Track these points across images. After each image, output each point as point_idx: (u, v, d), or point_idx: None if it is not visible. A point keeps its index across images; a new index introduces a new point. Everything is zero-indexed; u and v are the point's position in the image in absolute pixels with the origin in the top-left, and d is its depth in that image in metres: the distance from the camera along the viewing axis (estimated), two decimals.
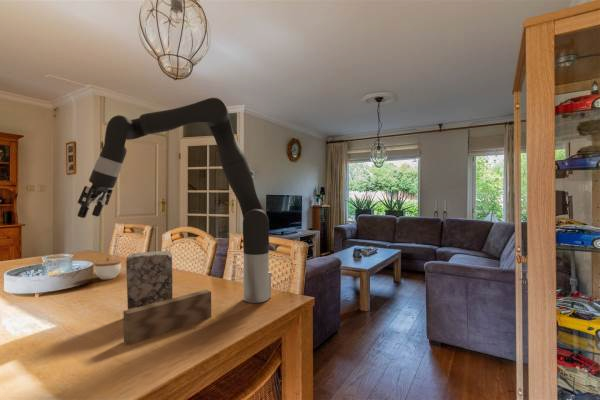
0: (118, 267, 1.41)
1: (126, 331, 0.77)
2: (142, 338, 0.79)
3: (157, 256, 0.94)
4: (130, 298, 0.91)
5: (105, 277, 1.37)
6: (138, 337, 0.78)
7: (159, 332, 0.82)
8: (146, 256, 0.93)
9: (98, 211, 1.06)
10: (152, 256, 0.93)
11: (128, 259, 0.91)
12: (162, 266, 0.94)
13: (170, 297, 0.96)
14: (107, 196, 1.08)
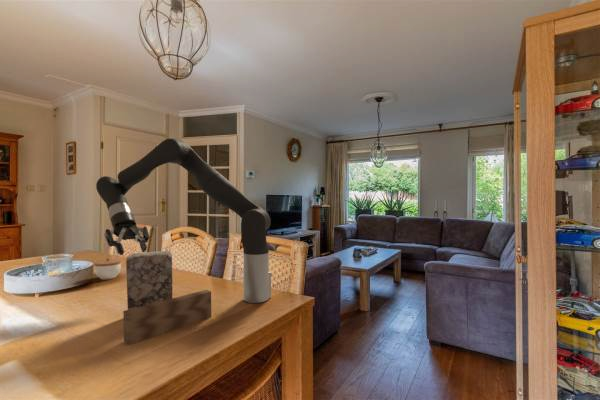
0: (118, 267, 1.41)
1: (126, 331, 0.77)
2: (142, 338, 0.79)
3: (157, 256, 0.94)
4: (130, 298, 0.91)
5: (105, 277, 1.37)
6: (138, 337, 0.78)
7: (159, 332, 0.82)
8: (146, 256, 0.93)
9: (142, 245, 1.08)
10: (152, 256, 0.93)
11: (128, 259, 0.91)
12: (162, 266, 0.94)
13: (170, 297, 0.96)
14: (144, 232, 1.13)
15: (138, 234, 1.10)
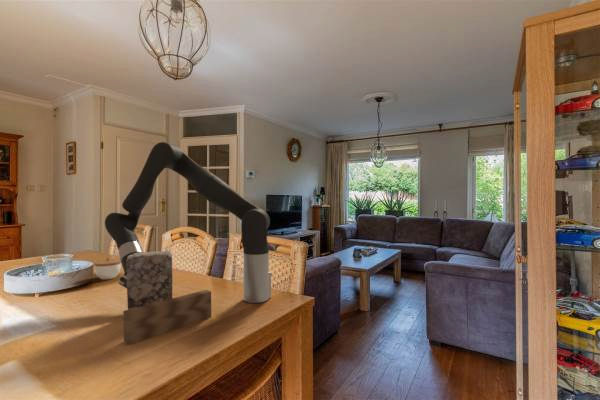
0: (118, 267, 1.41)
1: (126, 331, 0.77)
2: (142, 338, 0.79)
3: (157, 256, 0.94)
4: (130, 298, 0.91)
5: (105, 277, 1.37)
6: (138, 337, 0.78)
7: (159, 332, 0.82)
8: (146, 256, 0.93)
9: None
10: (152, 256, 0.93)
11: (128, 259, 0.91)
12: (162, 266, 0.94)
13: (170, 297, 0.96)
14: None
15: None
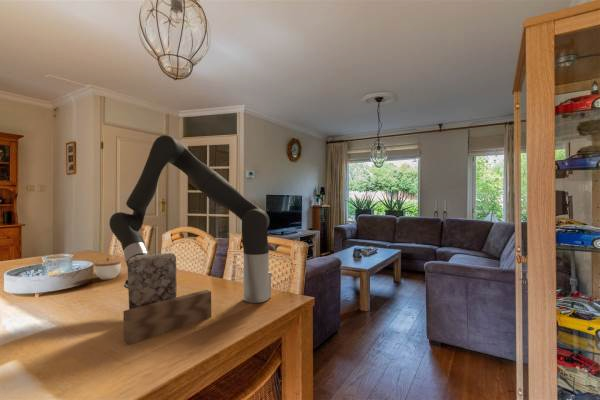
0: (118, 267, 1.41)
1: (126, 331, 0.77)
2: (142, 338, 0.79)
3: (159, 259, 0.89)
4: (131, 303, 0.87)
5: (105, 277, 1.37)
6: (138, 337, 0.78)
7: (159, 332, 0.82)
8: (148, 259, 0.88)
9: None
10: (154, 259, 0.89)
11: (129, 262, 0.86)
12: (165, 269, 0.90)
13: None
14: None
15: None
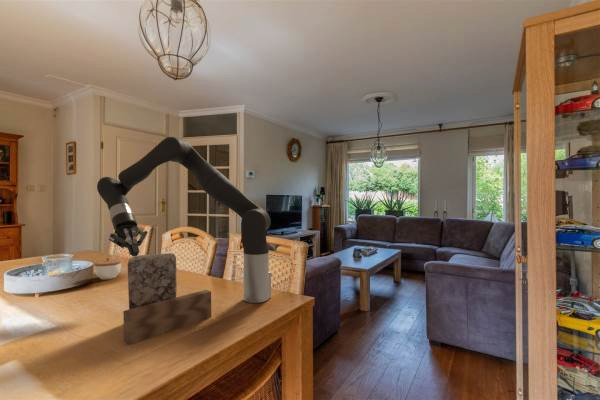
0: (118, 267, 1.41)
1: (126, 331, 0.77)
2: (142, 338, 0.79)
3: (159, 259, 0.89)
4: (131, 303, 0.87)
5: (105, 277, 1.37)
6: (138, 337, 0.78)
7: (159, 332, 0.82)
8: (148, 259, 0.88)
9: None
10: (154, 259, 0.89)
11: (129, 262, 0.87)
12: (165, 269, 0.90)
13: None
14: (141, 236, 1.10)
15: (134, 236, 1.07)
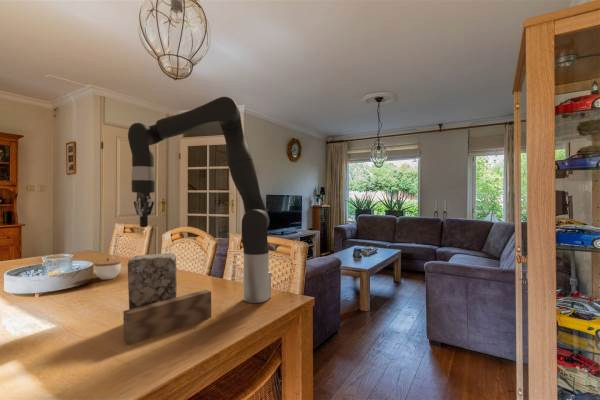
0: (118, 267, 1.41)
1: (126, 331, 0.77)
2: (142, 338, 0.79)
3: (159, 259, 0.89)
4: (131, 303, 0.87)
5: (105, 277, 1.37)
6: (138, 337, 0.78)
7: (159, 332, 0.82)
8: (148, 259, 0.88)
9: None
10: (154, 259, 0.89)
11: (129, 262, 0.87)
12: (165, 269, 0.90)
13: None
14: None
15: None
